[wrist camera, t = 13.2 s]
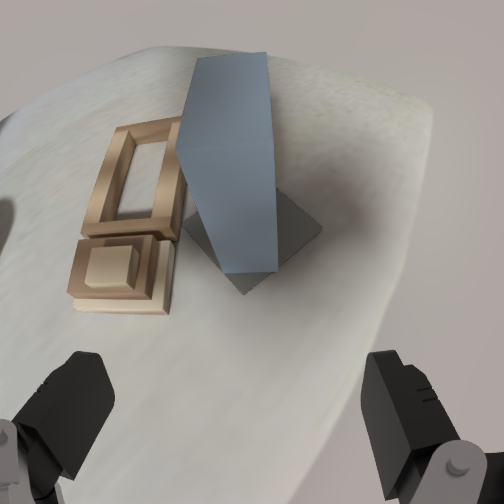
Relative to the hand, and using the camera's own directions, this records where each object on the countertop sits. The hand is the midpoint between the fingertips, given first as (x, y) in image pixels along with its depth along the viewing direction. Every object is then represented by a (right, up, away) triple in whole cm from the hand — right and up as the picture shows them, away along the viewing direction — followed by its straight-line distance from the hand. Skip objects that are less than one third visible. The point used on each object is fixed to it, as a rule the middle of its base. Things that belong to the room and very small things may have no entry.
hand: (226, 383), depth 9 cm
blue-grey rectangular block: (+1, +6, +13) cm, 14 cm away
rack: (-8, +7, +15) cm, 19 cm away
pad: (+1, +5, +14) cm, 15 cm away
